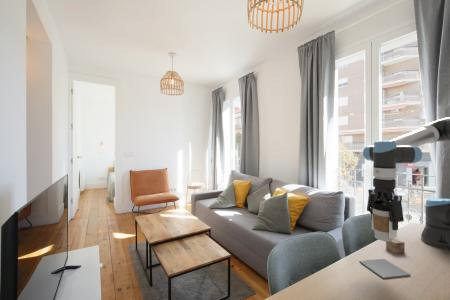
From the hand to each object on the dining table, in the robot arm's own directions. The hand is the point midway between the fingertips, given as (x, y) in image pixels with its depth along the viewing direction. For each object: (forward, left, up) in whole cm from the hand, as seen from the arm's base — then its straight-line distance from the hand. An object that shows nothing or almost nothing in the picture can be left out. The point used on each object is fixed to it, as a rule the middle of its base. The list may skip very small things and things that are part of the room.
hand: (383, 233), depth 90 cm
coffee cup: (0, 0, -2) cm, 2 cm away
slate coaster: (0, 0, -15) cm, 15 cm away
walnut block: (-19, -13, -15) cm, 27 cm away
